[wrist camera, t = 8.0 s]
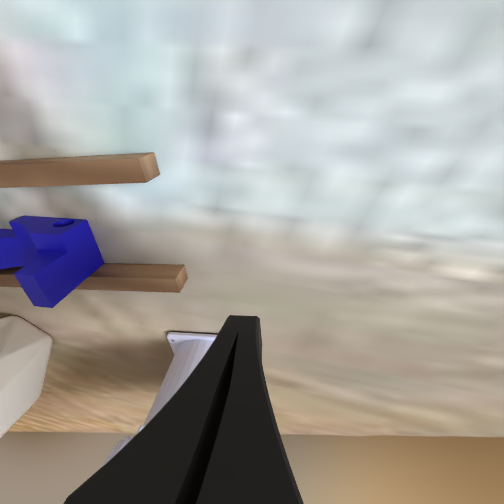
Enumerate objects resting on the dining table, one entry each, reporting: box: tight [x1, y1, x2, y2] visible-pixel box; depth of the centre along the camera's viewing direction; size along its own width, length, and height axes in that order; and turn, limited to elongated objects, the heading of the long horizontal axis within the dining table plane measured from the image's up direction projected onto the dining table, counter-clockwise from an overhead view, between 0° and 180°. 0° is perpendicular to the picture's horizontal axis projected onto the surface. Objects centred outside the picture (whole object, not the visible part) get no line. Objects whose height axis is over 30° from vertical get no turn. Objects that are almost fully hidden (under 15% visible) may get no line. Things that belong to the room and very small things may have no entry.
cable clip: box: [0, 216, 104, 308], centre depth 20 cm, size 12×4×6 cm, turn 90°
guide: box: [0, 153, 188, 293], centre depth 20 cm, size 11×22×3 cm, turn 94°
